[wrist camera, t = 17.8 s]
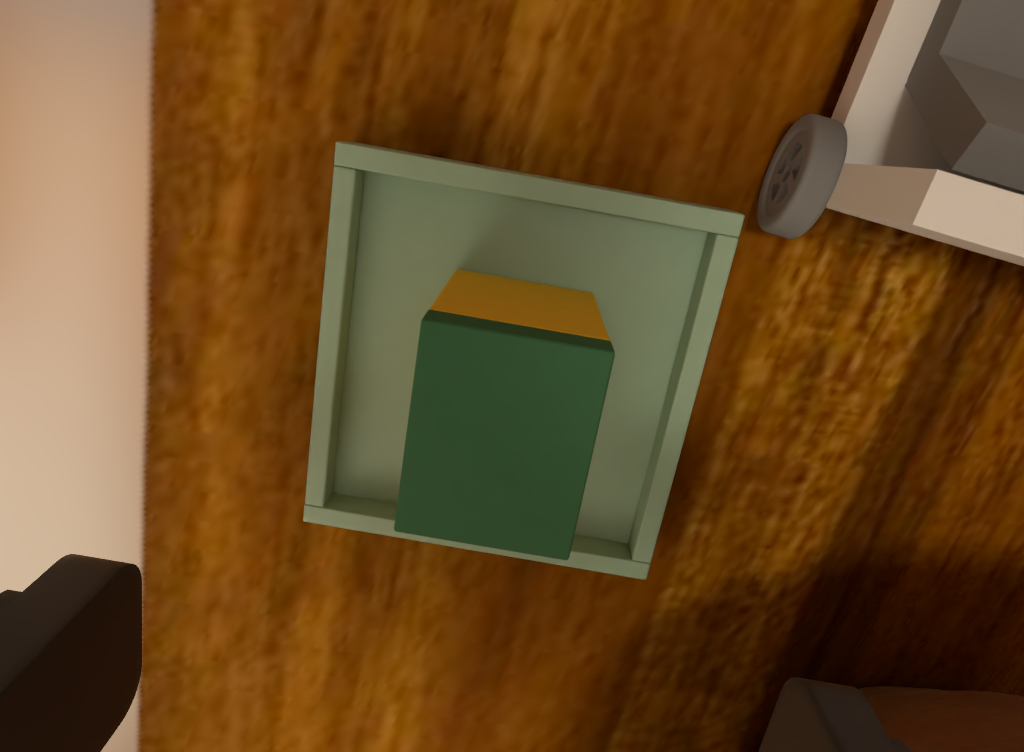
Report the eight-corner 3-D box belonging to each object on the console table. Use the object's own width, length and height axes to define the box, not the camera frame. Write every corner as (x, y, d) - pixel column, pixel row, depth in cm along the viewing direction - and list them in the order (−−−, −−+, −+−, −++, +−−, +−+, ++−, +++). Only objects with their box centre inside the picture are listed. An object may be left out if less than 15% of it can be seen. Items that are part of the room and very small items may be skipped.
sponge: (455, 267, 20) (420, 318, 14) (594, 292, 20) (615, 352, 14) (432, 429, 22) (393, 532, 16) (561, 451, 22) (568, 561, 16)
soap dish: (350, 141, 19) (334, 140, 18) (731, 209, 20) (745, 214, 18) (317, 498, 23) (302, 522, 22) (640, 553, 23) (646, 580, 22)
